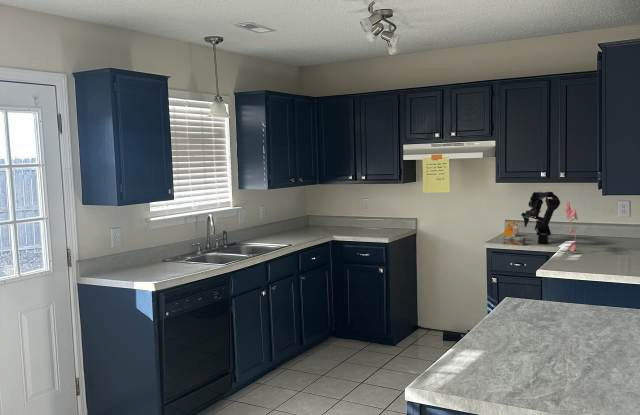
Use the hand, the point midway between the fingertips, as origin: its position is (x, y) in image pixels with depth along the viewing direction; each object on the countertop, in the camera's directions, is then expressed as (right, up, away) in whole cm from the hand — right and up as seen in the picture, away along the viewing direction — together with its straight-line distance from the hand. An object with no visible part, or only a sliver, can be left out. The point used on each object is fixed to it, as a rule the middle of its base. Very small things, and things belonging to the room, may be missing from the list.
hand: (530, 228), depth 455 cm
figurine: (+10, -15, -44) cm, 47 cm away
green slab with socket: (-13, -11, -6) cm, 18 cm away
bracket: (-6, -8, +27) cm, 28 cm away
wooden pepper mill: (-10, -10, +4) cm, 14 cm away
